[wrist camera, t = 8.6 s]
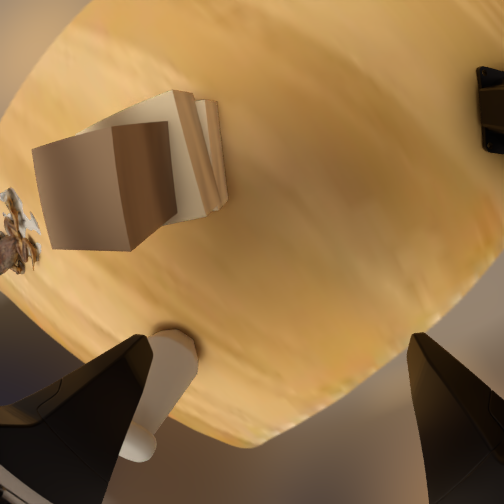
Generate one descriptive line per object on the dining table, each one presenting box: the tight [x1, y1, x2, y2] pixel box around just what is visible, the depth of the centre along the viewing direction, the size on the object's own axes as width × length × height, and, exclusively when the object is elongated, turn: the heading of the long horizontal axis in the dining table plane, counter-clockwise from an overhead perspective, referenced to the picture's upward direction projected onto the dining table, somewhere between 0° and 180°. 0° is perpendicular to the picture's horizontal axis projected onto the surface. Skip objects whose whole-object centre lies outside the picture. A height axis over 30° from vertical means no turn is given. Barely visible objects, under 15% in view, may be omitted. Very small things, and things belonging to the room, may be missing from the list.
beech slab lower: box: [195, 99, 228, 211], centre depth 19 cm, size 7×7×3 cm
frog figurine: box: [0, 187, 41, 275], centre depth 26 cm, size 12×12×4 cm
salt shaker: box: [119, 329, 198, 462], centre depth 22 cm, size 6×6×13 cm
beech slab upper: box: [75, 90, 221, 226], centre depth 17 cm, size 7×7×3 cm
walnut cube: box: [32, 121, 178, 252], centre depth 13 cm, size 5×5×5 cm
